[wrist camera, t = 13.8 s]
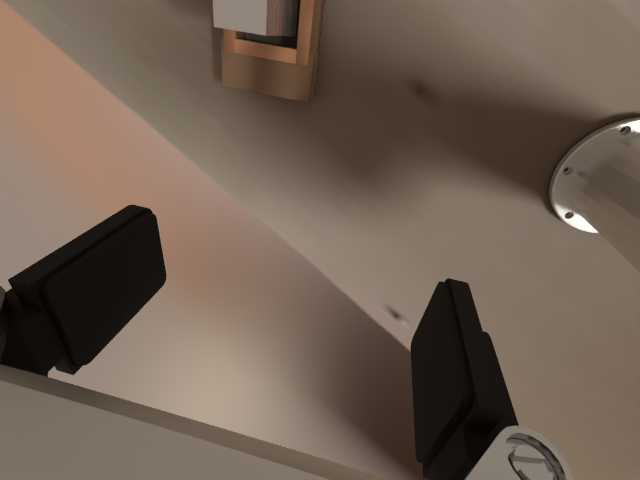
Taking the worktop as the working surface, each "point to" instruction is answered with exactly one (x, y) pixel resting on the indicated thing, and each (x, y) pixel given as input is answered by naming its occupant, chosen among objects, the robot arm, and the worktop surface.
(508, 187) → the worktop surface
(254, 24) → the grey square block
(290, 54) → the tan flat board
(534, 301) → the worktop surface
